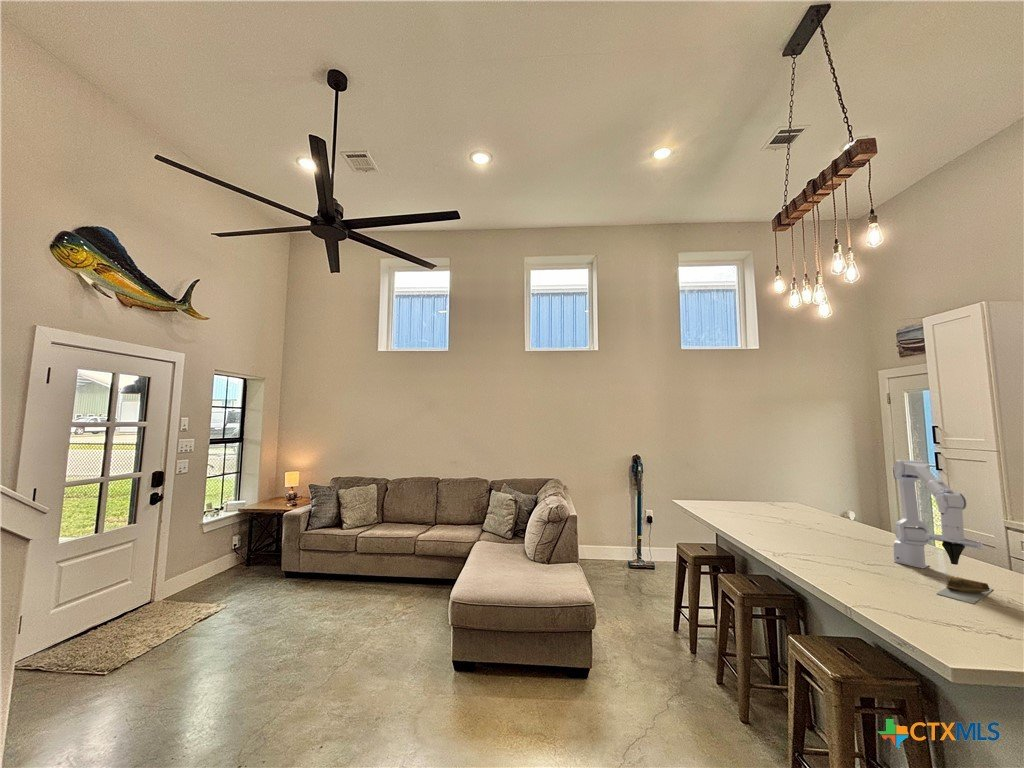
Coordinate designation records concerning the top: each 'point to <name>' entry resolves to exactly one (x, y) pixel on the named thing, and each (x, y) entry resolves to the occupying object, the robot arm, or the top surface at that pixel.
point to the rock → (967, 585)
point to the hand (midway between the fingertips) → (954, 563)
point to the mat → (963, 595)
